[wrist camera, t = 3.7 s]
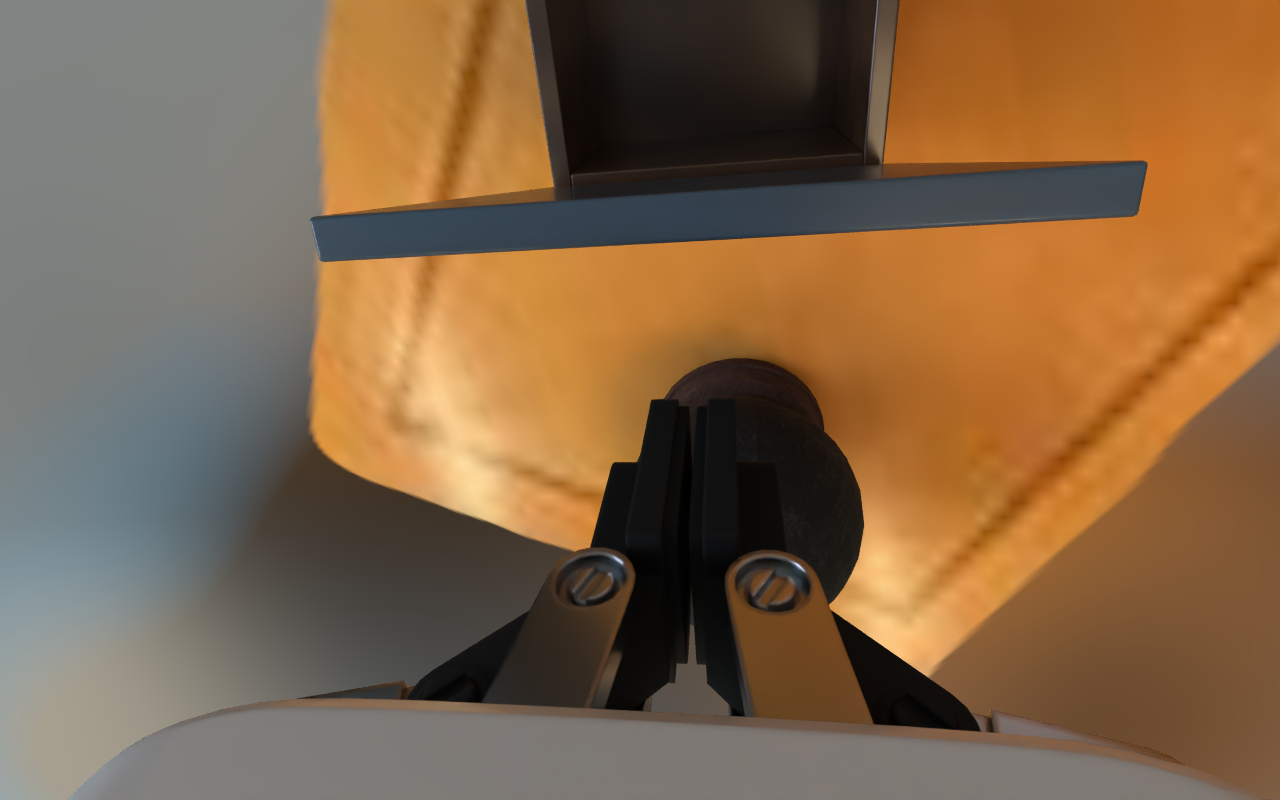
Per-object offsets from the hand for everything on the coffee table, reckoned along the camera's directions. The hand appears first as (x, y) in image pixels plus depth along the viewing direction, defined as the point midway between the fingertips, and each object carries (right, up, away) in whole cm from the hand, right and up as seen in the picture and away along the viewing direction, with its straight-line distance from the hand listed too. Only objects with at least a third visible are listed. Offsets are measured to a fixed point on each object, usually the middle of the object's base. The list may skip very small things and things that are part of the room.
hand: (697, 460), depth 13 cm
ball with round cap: (+6, -1, +30) cm, 30 cm away
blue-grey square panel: (+1, +7, +5) cm, 9 cm away
